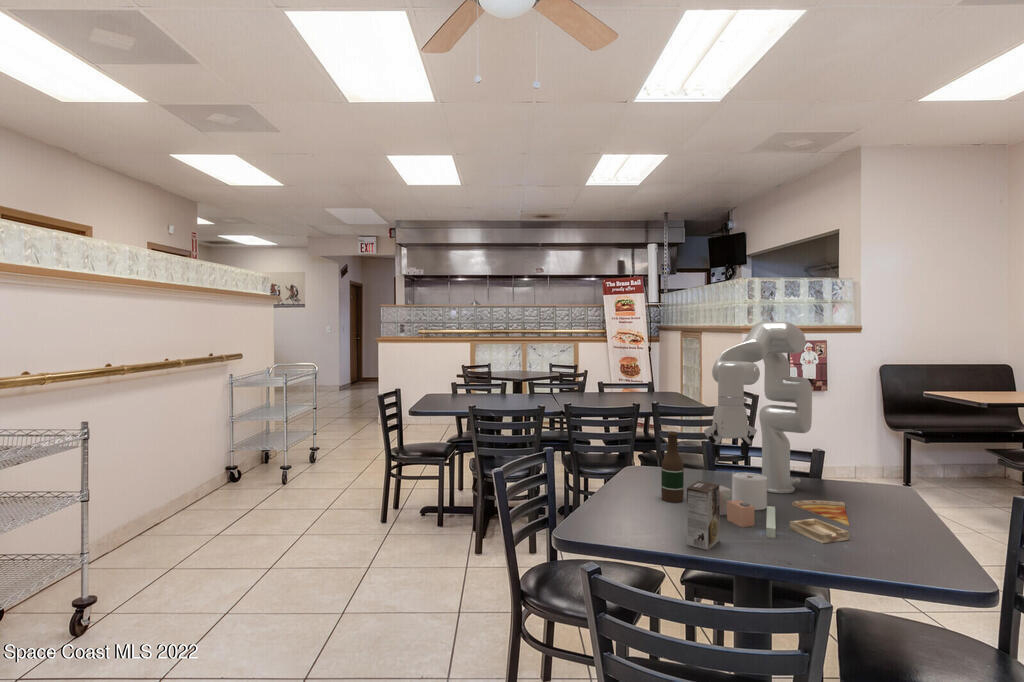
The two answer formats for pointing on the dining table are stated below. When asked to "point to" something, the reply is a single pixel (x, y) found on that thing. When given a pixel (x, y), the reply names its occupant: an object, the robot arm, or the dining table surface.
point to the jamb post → (724, 499)
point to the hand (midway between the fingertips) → (730, 456)
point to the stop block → (740, 513)
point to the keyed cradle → (819, 530)
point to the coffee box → (703, 515)
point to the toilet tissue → (750, 489)
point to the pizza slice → (825, 509)
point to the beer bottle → (672, 472)
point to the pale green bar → (770, 522)
